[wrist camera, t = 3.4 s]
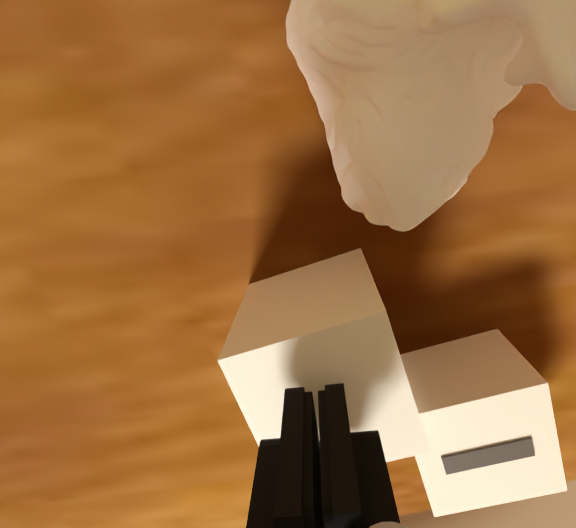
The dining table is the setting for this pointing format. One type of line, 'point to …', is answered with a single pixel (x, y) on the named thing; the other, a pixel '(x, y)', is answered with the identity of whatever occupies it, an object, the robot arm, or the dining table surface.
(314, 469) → the robot arm
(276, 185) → the dining table surface
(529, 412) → the marked block
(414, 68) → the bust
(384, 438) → the cream block
